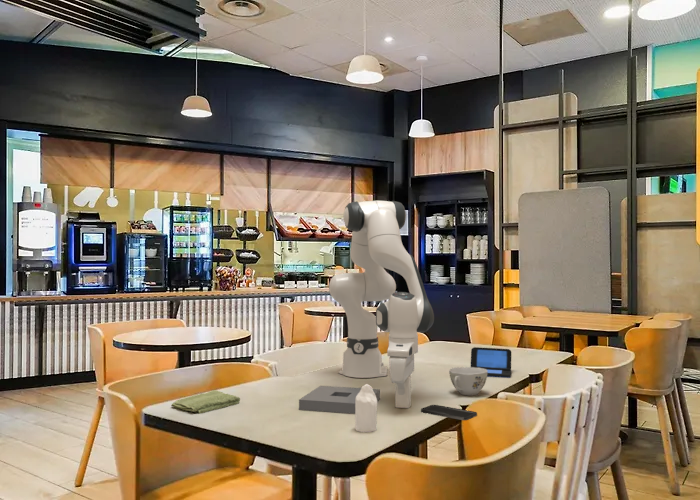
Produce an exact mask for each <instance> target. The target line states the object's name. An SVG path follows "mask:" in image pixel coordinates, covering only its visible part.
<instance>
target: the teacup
mask: <svg viewBox="0 0 700 500" xmlns="http://www.w3.org/2000/svg"><path fill="white" fill-rule="evenodd" d="M448 371H449V378H450V381H451V383H452V385H453V387H454V389H456V390H457V392H458V393H459V394H460V395H463V396H477V395H479V393H480V391H482V389H483V388H484V387H485V385H486V383H487V378H488V377H487V373H488V371H487V370H486V369H484V368H474V367H471V366H469V367H467V366H466V367H463V366H461V367H459V366H457V367H452V368H450V369H449V370H448Z"/></svg>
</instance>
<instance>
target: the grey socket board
mask: <svg viewBox="0 0 700 500" xmlns="http://www.w3.org/2000/svg"><path fill="white" fill-rule="evenodd" d="M361 388H362V387H349V386H334V385H333V386H331V385H319V386H318V387H316V388H315V389H313V390H311V391H310V392H308V393H307V394H305V395H304V396H302V397H301V398H299V399H298V410H299V411H313V412H323V413H325V412H326V413H338V414H353V415H355V401H356V396H357V395H358V393H359V392H360V390H361ZM372 389H373V391H374V393H375V395H376V398H377V402H378V401H379V400H380V399H381V389H380V388H379V389H378V388H372Z"/></svg>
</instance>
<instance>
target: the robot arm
mask: <svg viewBox="0 0 700 500" xmlns="http://www.w3.org/2000/svg"><path fill="white" fill-rule="evenodd" d="M406 218H407V213H406V209H405V206H404V205H403V203H402V202H400V201H395V200H392V201H390V200H388V201H387V200H365V201H359V202H358V201H352V202H348V203H347V204H346V206H345V207H344V211H343V223H344V225H345V228H346V229H348V231H350V232H352V233H351V234H352V235H351V245H350V259H351V261H352V263H353V264H355V265H356V266H357V267H359V268H362V269H363V270H364V272H344V273H338V274H335V275H333V276H332V277H331V279H330V280H329V285H328V290H329V294H330V296H331V297H332V298H333V299H334V300H335V301H336V302H338V303H339V305H340V306H341V307H342V308H343V309H342V310H344V312H345V315H346V320H347V337H346V347H347V348H346V350H344V352H342V368H341V369H339V370H338V374H341V375H343V376H345V377H348V378H357V379H358V378H363V379H369V378H370V379H371V378H377V377H386V376H388V367H387V366H385V365H384V362H383V359H382V358H383V356H382V352H381V351H380V349H379V337H378V328H379V329H380V330H381V331H382V332H385V333H389V334H388V347H387V351H386V352H387V357H389V360H388V361H389V365H388V366H389V376H390V377H389V378H390V381H391V383H392V384H395V383H397V386H398V394H399V395H404V393H405V388H404V383H405V380H406V379H407V378H408V377H409V376H410V375H411V376H412V374H413V373H414V371H415V354H417V353H419V335H418V333H421V334H424V333H426V332H427V331H429V329H431V327H432V326H433V324H434V322H435V313H434V310H433V307H432V304H431V303H430V301H429V298H428V295H427V293H426V290H425V289H426V288H425V286H424V283H423V280H422V277H421V274H420V272H419V268H418V265H417V262H416V260H415V257H414V256H413V255H411V253H408V250H406V248H405V246H404V245H403V242H402V235H401V231H400V230H402V228H404V226H405V223H406ZM386 269H387V270H389V271H393V272H395V273H397V274H398V275H400V276H402V277H403V279H404V280H405V282H406V285H407V288H408V291H409V292H406V291H396V289H397V284H396V281H395V279H394V277H393V276H392V275H391V274H390V273H389V272H387V271H386ZM381 301H385V302H382V303H380V304H379V305H378V307H377V308H376V309H375V314H374V313H373V312H371V311H369V310H367V309H365V308H363V305H362V303H363V302H381Z"/></svg>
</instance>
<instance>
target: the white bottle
mask: <svg viewBox="0 0 700 500" xmlns="http://www.w3.org/2000/svg"><path fill="white" fill-rule="evenodd" d="M360 388H361V390H360V392H359V393H358V395H357V396H356V401H355V414H354V417H355V418H354V420H355V421H354V422H355V423H354V424H355V425H354V427H355V431H357V432H360V433H373V432H375V431H377V428H378V426H377V423H378V401H377V398H376V395H375V393H374V391H373V389H374V388H373V387H372V386H371V385H369V384H368V383H366V384H363V385H362V386H361V387H360Z"/></svg>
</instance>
